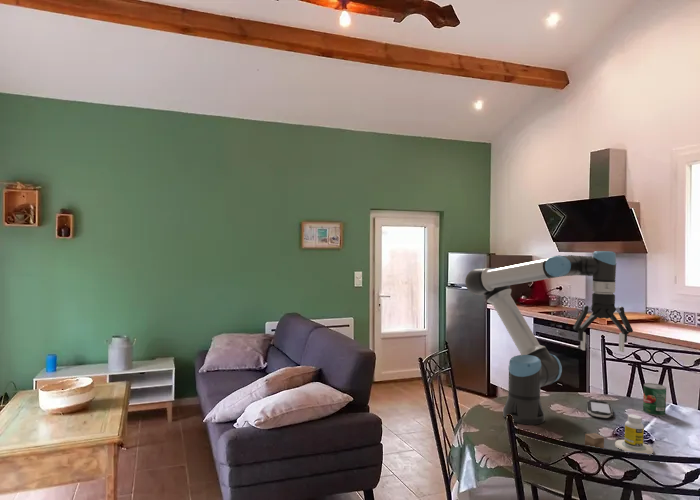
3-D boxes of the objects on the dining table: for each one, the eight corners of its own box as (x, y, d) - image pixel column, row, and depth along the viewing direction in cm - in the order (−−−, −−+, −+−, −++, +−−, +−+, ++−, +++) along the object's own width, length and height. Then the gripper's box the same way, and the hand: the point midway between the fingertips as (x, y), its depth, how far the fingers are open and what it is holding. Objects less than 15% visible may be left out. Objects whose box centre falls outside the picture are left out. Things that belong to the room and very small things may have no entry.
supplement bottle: (636, 450, 160) (637, 420, 160) (620, 443, 165) (621, 414, 165) (646, 447, 163) (647, 417, 162) (630, 441, 167) (631, 412, 167)
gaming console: (586, 403, 211) (586, 397, 211) (609, 406, 207) (610, 400, 207) (587, 418, 193) (587, 411, 193) (613, 421, 190) (613, 415, 190)
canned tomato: (638, 411, 201) (639, 384, 201) (649, 408, 205) (650, 382, 205) (659, 417, 194) (660, 389, 194) (669, 414, 198) (670, 387, 198)
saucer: (623, 454, 159) (623, 451, 159) (609, 440, 170) (609, 438, 170) (660, 456, 158) (660, 453, 158) (643, 442, 169) (643, 440, 169)
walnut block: (593, 450, 162) (593, 438, 162) (584, 445, 165) (585, 434, 165) (603, 449, 163) (604, 437, 163) (594, 444, 167) (595, 433, 166)
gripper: (571, 293, 179) (570, 351, 179) (644, 295, 176) (642, 354, 176) (565, 291, 186) (563, 346, 187) (634, 293, 184) (632, 349, 184)
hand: (602, 350), depth 182 cm, fingers open, 13 cm apart
